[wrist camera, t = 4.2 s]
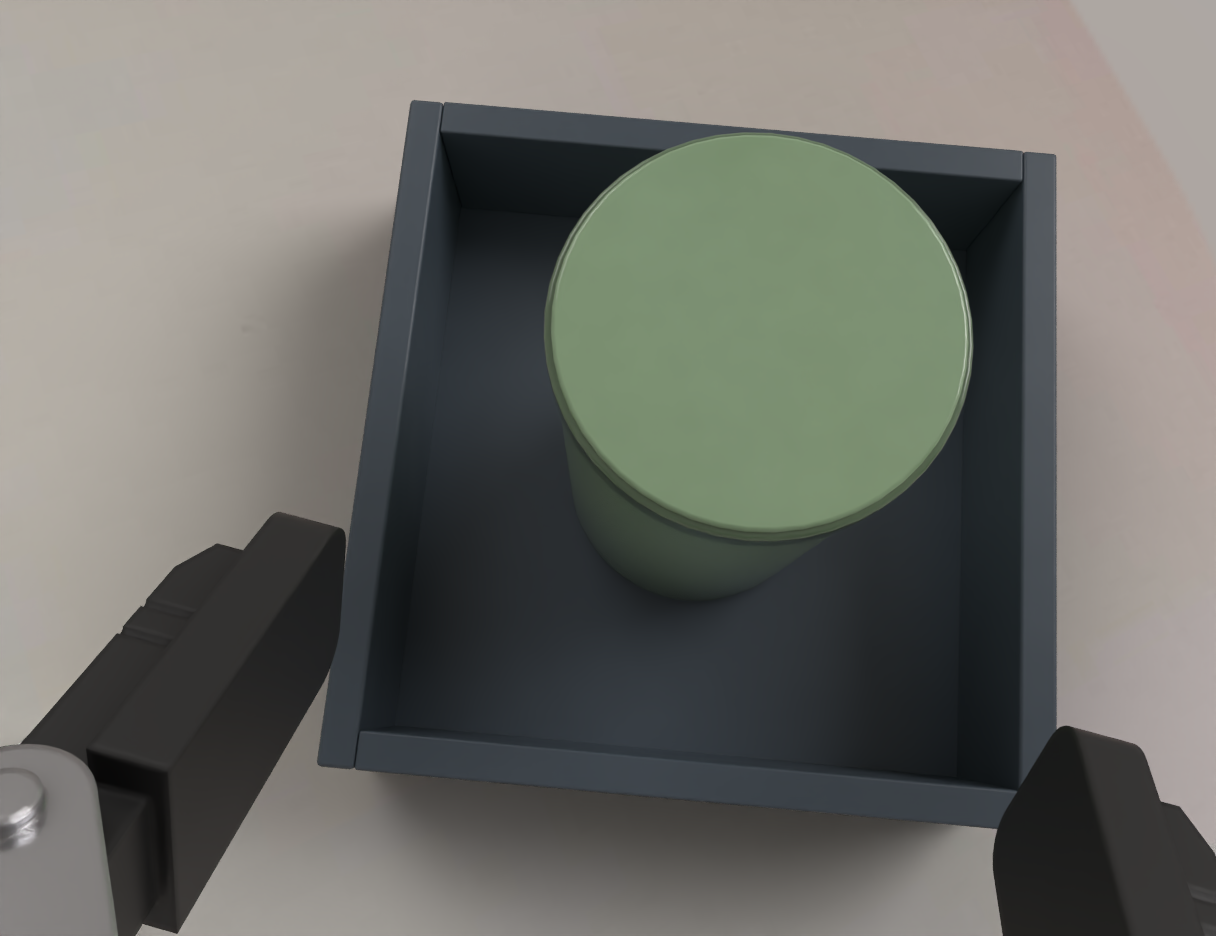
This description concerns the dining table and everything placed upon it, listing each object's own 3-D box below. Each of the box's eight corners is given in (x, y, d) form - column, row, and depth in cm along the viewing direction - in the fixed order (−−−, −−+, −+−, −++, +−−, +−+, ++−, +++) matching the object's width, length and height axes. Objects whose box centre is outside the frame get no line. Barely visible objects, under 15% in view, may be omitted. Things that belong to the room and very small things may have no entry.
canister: (828, 365, 25) (980, 144, 15) (817, 617, 23) (974, 559, 14) (578, 343, 25) (564, 109, 15) (553, 593, 23) (520, 518, 14)
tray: (986, 237, 26) (1057, 152, 22) (978, 810, 23) (1058, 834, 19) (439, 190, 26) (410, 98, 22) (364, 754, 23) (315, 766, 19)
